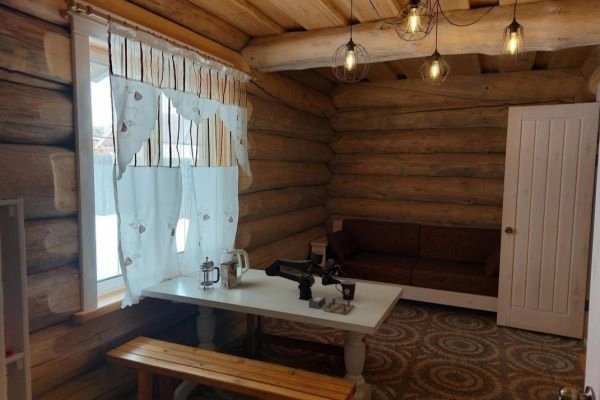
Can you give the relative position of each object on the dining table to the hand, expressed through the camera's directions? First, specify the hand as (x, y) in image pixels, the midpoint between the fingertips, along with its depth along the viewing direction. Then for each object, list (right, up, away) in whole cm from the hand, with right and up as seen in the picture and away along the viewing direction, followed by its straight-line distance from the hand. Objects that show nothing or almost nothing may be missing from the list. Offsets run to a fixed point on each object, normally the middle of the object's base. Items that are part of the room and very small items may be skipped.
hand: (344, 279), depth 229 cm
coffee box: (-71, -12, +35) cm, 81 cm away
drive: (-15, -15, +2) cm, 22 cm away
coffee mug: (+3, -14, +14) cm, 20 cm away
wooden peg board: (-4, -16, -4) cm, 16 cm away
